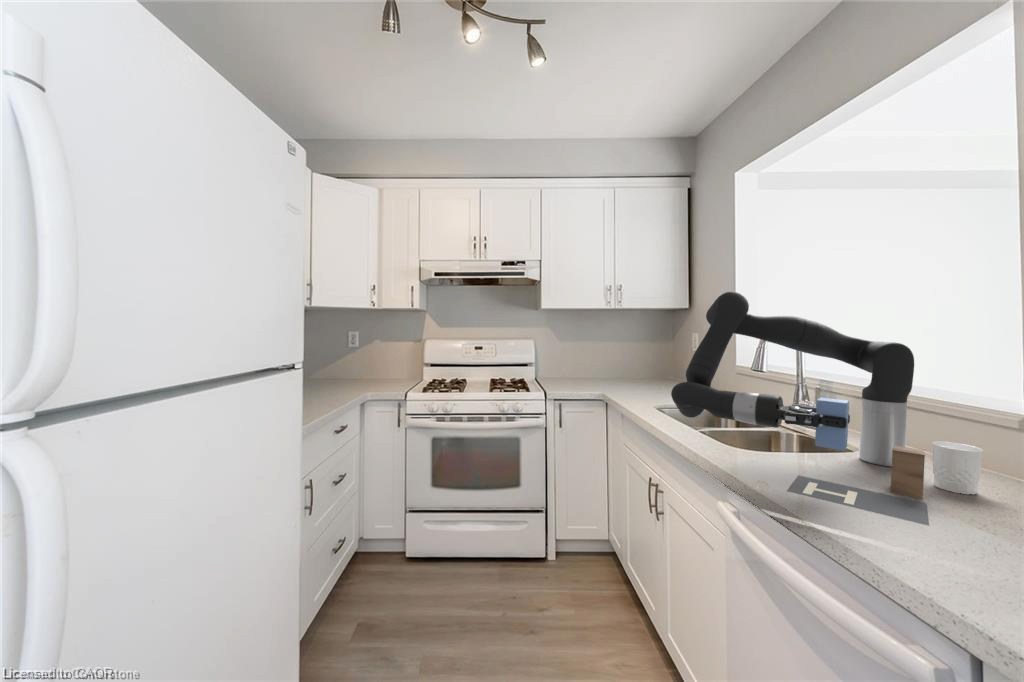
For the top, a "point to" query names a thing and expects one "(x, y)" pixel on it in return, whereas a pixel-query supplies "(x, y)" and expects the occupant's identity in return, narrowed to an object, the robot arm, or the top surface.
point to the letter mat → (862, 499)
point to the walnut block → (907, 471)
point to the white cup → (956, 467)
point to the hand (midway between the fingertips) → (847, 421)
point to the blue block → (828, 434)
